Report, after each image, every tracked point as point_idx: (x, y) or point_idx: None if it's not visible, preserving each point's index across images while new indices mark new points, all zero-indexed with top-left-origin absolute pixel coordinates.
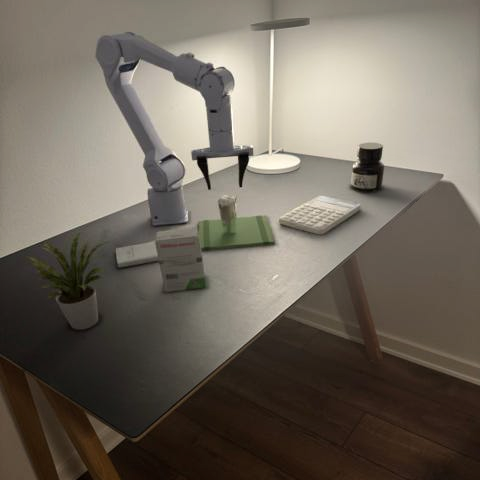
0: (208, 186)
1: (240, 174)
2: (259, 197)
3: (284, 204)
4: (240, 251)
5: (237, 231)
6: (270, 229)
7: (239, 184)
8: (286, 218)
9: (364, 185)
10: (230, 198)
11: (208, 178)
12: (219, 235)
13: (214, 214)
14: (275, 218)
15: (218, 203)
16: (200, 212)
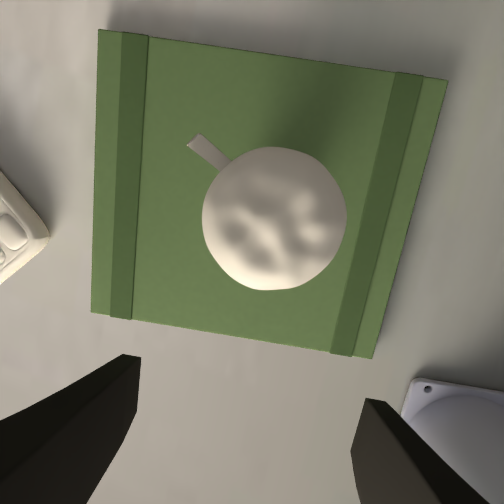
0: (396, 415)
1: (59, 418)
2: None
3: (9, 399)
4: (265, 15)
5: None
6: (95, 164)
7: (129, 366)
8: (4, 217)
9: None
10: (249, 200)
11: (426, 473)
12: None
13: (287, 414)
14: (62, 291)
15: (345, 206)
16: (335, 450)
